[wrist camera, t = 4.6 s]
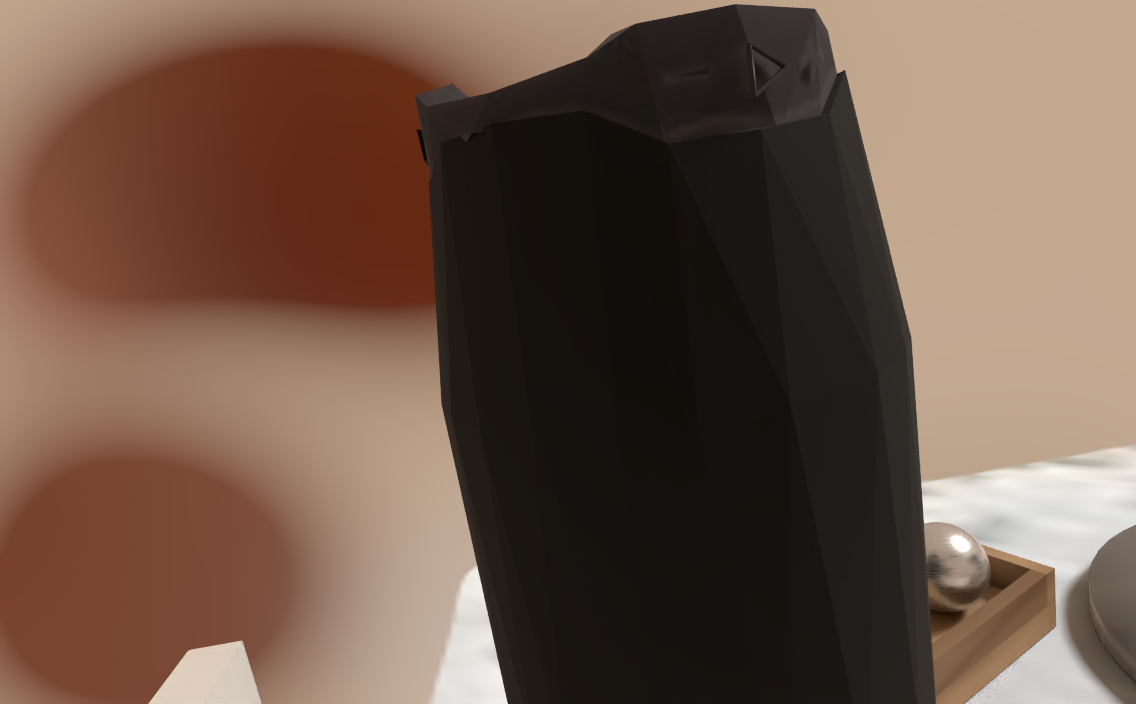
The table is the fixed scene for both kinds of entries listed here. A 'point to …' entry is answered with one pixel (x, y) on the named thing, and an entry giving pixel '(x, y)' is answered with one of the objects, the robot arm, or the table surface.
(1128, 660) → the slate trivet
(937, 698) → the walnut dish
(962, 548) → the steel ball
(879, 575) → the portable speaker
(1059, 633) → the table surface
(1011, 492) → the table surface
